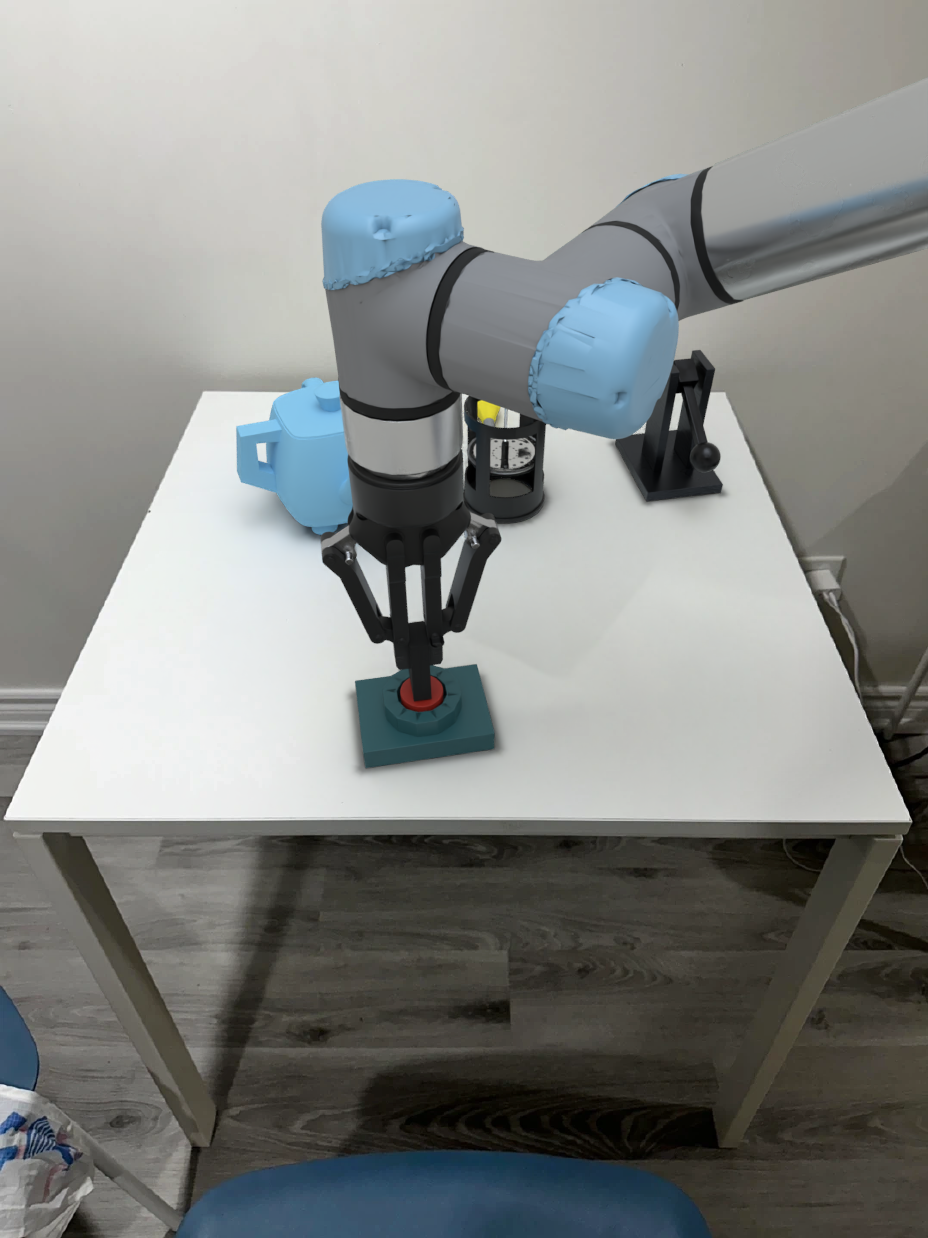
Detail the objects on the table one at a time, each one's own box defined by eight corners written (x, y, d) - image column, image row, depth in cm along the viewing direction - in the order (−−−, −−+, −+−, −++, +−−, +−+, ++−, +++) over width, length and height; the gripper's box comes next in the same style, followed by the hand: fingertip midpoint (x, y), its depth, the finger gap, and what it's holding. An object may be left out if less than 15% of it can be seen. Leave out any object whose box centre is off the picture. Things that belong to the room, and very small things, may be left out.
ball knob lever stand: (721, 492, 98) (748, 384, 88) (646, 501, 97) (665, 393, 87) (684, 436, 106) (704, 332, 97) (614, 444, 105) (628, 339, 96)
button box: (494, 749, 72) (495, 719, 70) (365, 768, 71) (360, 739, 68) (476, 679, 78) (477, 649, 75) (357, 696, 77) (352, 666, 74)
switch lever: (717, 476, 92) (728, 462, 89) (689, 479, 91) (699, 465, 88) (689, 372, 95) (699, 355, 92) (662, 374, 95) (670, 358, 92)
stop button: (446, 716, 72) (446, 703, 70) (404, 722, 71) (403, 709, 70) (440, 685, 74) (439, 671, 73) (399, 690, 74) (397, 677, 73)
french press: (513, 537, 93) (521, 337, 76) (443, 508, 96) (436, 312, 80) (567, 484, 99) (584, 291, 83) (499, 459, 103) (504, 270, 87)
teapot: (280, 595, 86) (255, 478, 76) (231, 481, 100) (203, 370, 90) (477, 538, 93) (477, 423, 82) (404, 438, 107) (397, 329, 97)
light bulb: (493, 407, 112) (502, 388, 109) (497, 442, 109) (507, 423, 106) (468, 402, 111) (478, 383, 108) (472, 438, 108) (481, 419, 105)
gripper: (492, 408, 58) (488, 645, 75) (300, 427, 57) (339, 665, 73) (516, 470, 53) (505, 711, 70) (305, 493, 51) (346, 734, 68)
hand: (420, 687), depth 71 cm, fingers closed
